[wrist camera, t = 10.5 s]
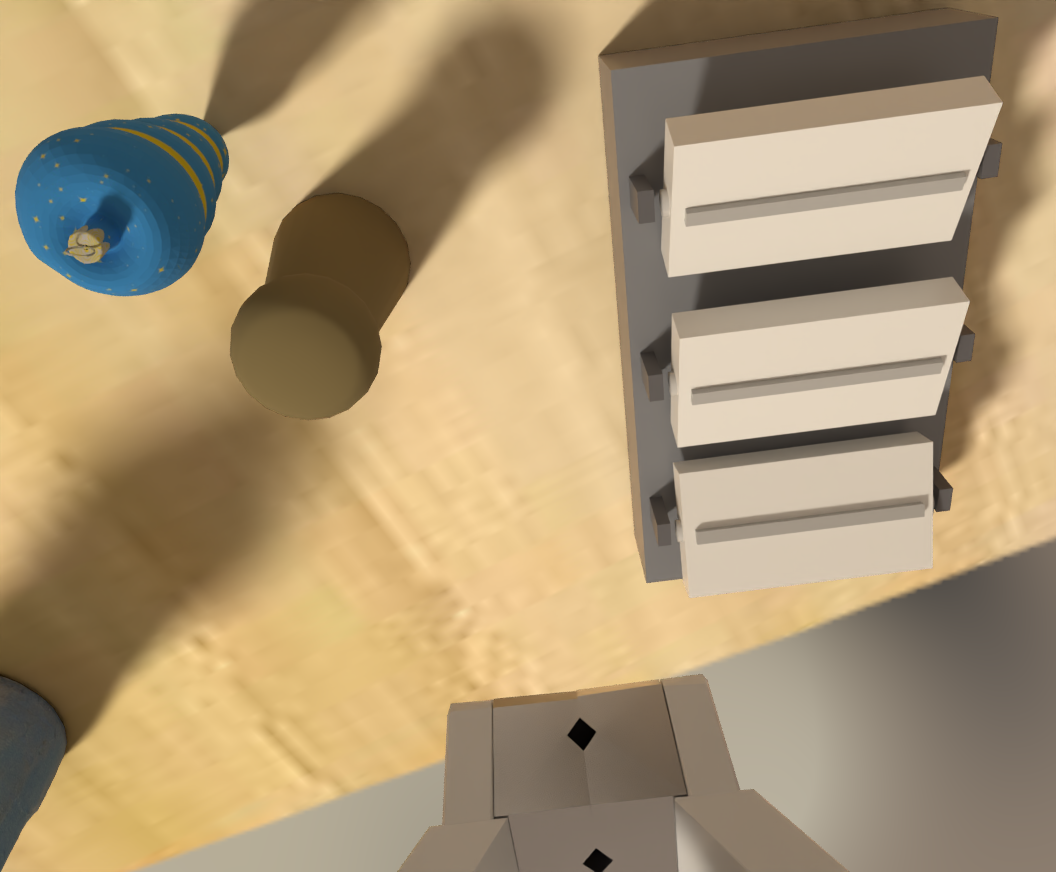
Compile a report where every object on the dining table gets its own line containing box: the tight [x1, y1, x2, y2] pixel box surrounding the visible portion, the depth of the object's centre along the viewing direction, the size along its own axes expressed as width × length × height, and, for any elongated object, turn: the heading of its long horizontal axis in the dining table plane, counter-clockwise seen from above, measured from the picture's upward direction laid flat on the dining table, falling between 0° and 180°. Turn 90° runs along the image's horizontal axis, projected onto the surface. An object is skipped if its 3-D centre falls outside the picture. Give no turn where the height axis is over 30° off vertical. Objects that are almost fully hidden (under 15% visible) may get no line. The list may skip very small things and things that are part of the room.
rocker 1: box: [659, 76, 1003, 277], centre depth 33 cm, size 6×11×2 cm, turn 96°
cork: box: [230, 193, 411, 420], centre depth 35 cm, size 6×6×11 cm
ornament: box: [15, 114, 229, 296], centre depth 30 cm, size 5×5×15 cm
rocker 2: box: [668, 277, 970, 448], centre depth 36 cm, size 6×11×2 cm, turn 97°
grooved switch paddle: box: [673, 431, 934, 598], centre depth 40 cm, size 6×11×2 cm, turn 97°
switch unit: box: [598, 8, 1002, 583], centre depth 39 cm, size 24×14×6 cm, turn 7°
